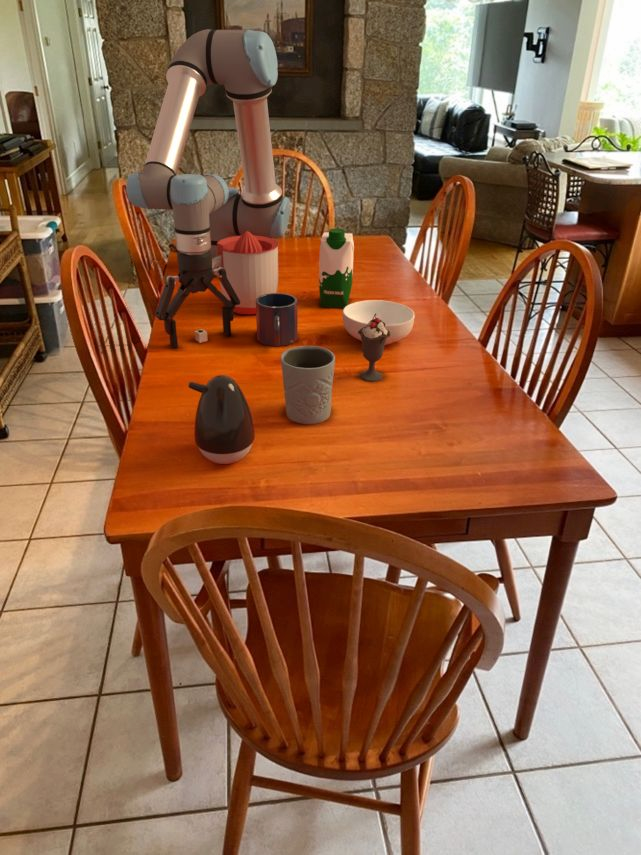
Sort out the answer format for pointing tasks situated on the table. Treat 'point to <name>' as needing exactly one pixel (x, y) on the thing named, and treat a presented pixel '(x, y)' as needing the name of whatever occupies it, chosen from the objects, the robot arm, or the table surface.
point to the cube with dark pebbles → (201, 336)
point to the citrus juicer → (248, 268)
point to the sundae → (373, 346)
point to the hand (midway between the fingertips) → (201, 340)
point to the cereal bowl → (389, 312)
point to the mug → (276, 319)
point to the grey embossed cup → (308, 383)
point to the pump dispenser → (223, 421)
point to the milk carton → (335, 268)
